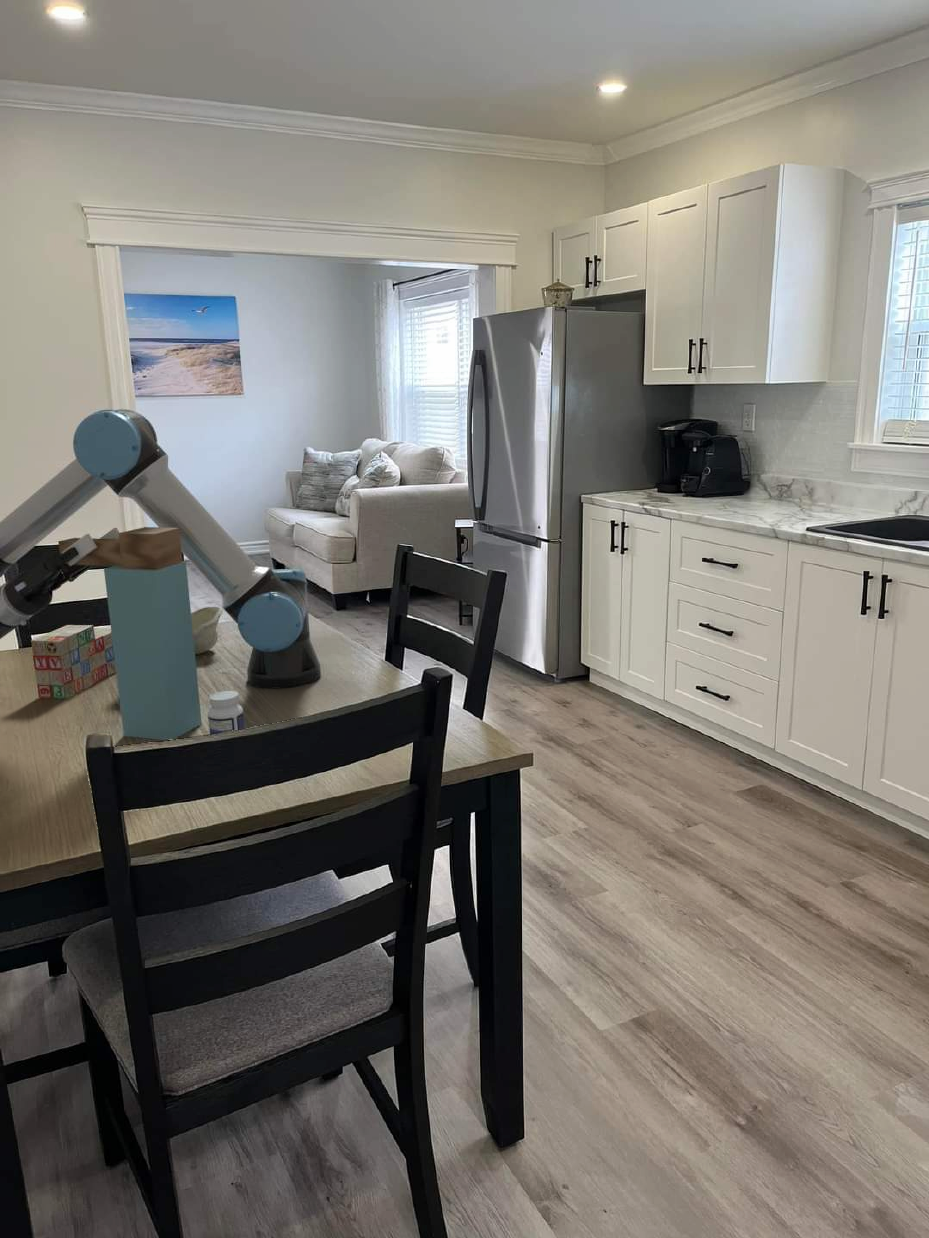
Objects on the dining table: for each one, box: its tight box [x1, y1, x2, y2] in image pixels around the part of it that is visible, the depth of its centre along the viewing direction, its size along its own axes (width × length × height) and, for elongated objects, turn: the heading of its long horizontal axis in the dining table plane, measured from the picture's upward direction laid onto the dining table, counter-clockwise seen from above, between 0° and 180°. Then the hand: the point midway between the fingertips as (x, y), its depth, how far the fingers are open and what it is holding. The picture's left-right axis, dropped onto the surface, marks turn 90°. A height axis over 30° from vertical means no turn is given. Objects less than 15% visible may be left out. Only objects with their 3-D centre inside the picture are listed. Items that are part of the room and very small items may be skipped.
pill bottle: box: [207, 690, 246, 735], centre depth 155 cm, size 6×6×10 cm
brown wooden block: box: [57, 526, 183, 570], centre depth 161 cm, size 21×7×6 cm, turn 72°
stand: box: [103, 560, 203, 741], centre depth 163 cm, size 10×9×30 cm
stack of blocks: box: [30, 624, 116, 700], centre depth 194 cm, size 21×6×12 cm, turn 169°
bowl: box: [191, 606, 224, 655], centre depth 215 cm, size 15×14×10 cm
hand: (105, 537), depth 161 cm, fingers open, 6 cm apart
